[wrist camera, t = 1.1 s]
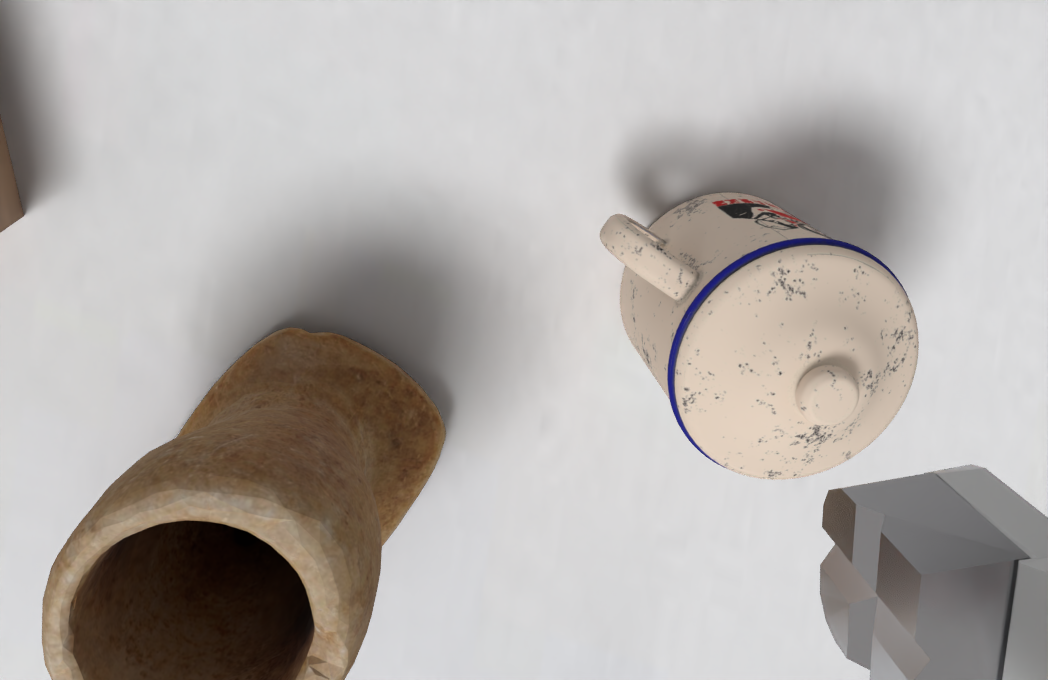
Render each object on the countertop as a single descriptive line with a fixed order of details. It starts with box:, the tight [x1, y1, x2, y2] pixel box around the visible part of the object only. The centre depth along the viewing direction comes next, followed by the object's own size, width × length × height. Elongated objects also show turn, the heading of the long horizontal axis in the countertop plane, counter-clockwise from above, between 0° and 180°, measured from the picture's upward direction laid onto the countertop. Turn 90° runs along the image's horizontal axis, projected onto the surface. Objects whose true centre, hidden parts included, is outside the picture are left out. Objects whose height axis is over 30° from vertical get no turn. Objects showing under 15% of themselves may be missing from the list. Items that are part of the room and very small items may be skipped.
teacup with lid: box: [600, 192, 919, 480], centre depth 35 cm, size 12×9×12 cm
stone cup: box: [42, 327, 446, 680], centre depth 34 cm, size 15×12×15 cm
